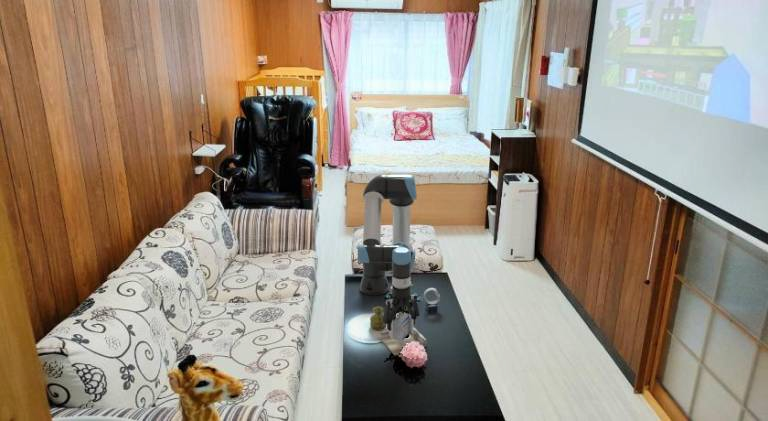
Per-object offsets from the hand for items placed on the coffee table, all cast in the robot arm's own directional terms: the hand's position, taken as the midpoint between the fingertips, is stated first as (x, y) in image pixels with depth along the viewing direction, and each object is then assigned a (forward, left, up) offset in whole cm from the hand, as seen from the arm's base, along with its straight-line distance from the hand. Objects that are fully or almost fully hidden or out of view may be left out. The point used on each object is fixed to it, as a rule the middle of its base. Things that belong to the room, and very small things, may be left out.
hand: (401, 334), depth 221 cm
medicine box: (0, 0, -1) cm, 1 cm away
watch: (-22, +28, -5) cm, 36 cm away
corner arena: (-1, +2, -5) cm, 6 cm away
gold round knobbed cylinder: (-18, -2, -5) cm, 19 cm away
